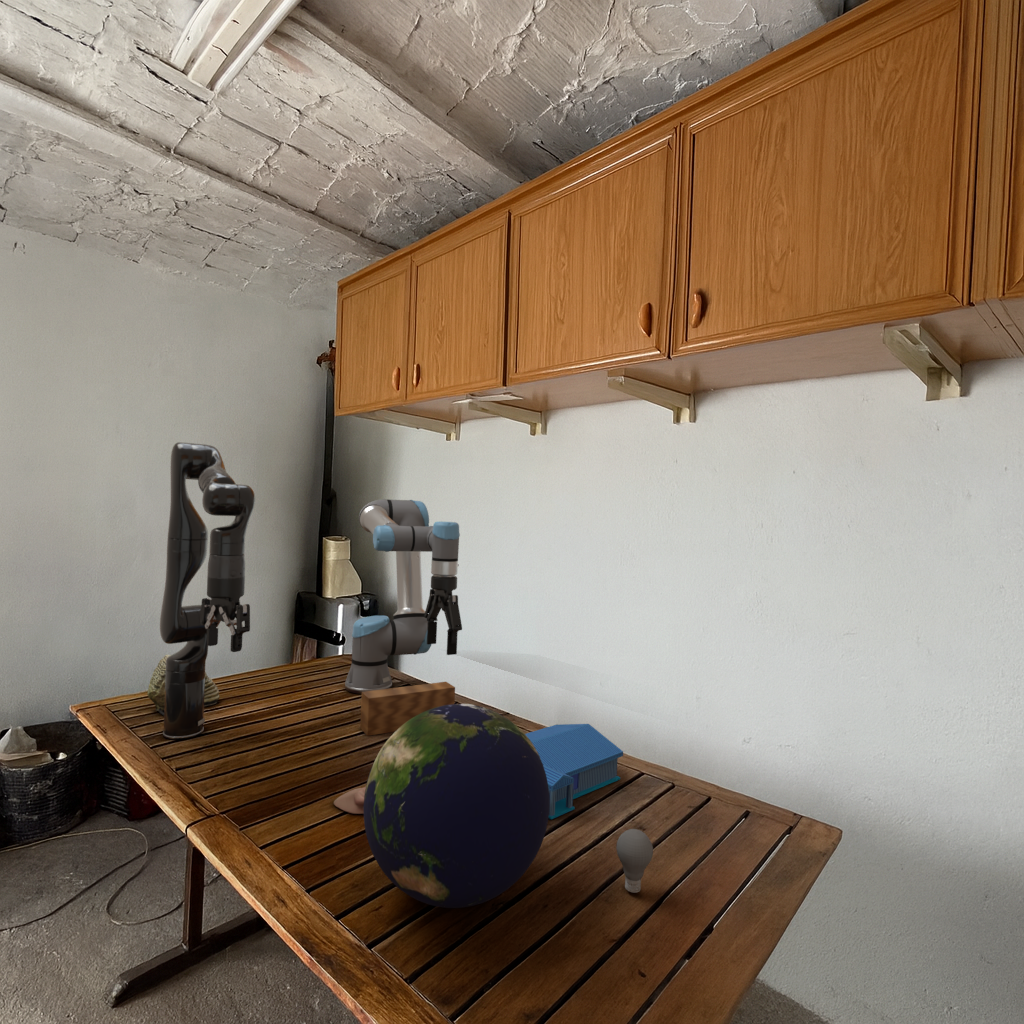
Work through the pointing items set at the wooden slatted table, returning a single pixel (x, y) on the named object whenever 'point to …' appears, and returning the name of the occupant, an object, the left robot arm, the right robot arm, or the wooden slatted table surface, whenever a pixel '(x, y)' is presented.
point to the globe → (456, 806)
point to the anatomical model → (352, 801)
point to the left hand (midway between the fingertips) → (223, 648)
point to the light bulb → (634, 857)
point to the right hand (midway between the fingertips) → (441, 649)
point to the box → (401, 705)
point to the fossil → (158, 687)
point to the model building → (574, 762)
